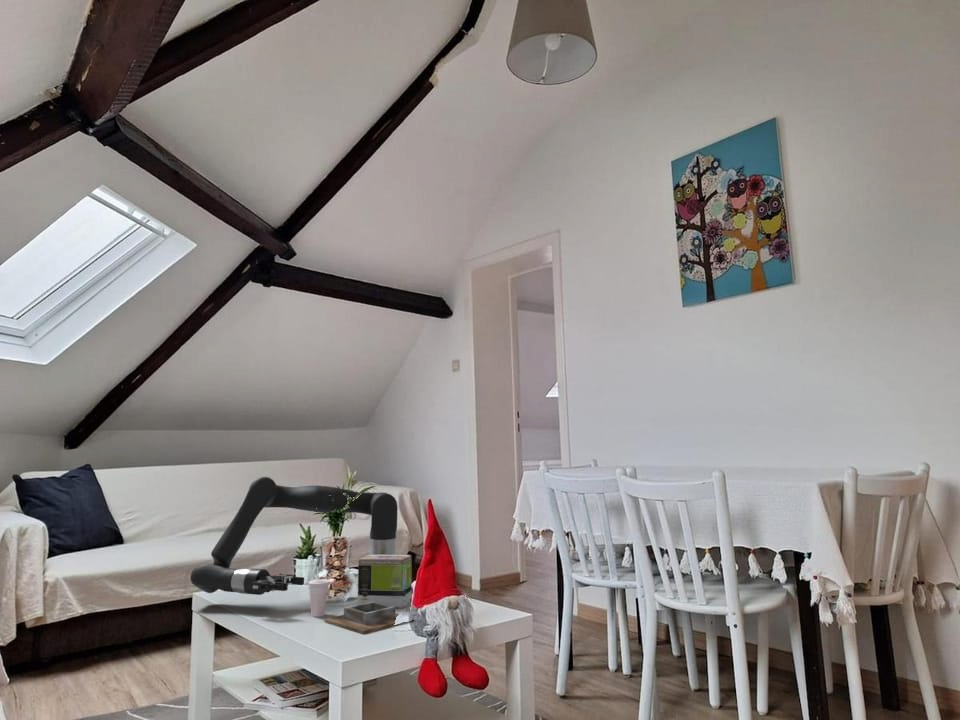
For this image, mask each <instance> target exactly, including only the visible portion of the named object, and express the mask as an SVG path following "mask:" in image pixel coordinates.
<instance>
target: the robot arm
mask: <svg viewBox="0 0 960 720" xmlns="http://www.w3.org/2000/svg"><path fill="white" fill-rule="evenodd" d="M359 492H360V491H353V490H350V489H347V488H346V489H345V488H341V489H340V487H335V486H327V485H306V486H305V485H304V486H303V485H302V486H297V487H296V486H295V487H294V486H284V485H278V484H276V482H275V480H274V479H272V478H271V477H269V476H260V477H258V478H256V479H254V480H253V481H252V482H251V483H250V485H249V488H248V491H247V493H246V496H245V498H244V499H243V502H242V504H241V505H240V508H239V509H238V510H237V513H236V514H235V516H234V517H233V519H232V521H231V522H230V523H229V525H228V526H227V527H226V530H225V531H224V532H223V533H222V534H221V536H220V538H219V540H218V541H217V542H216V544H215V546H214V547H213V549H212V551H211V552H210V554H211V557H212V559H213V564H210V563H203V564H200V565H198V566H196V567H194V568H193V570H192V571H191V574H190V581H191V584H192V585H193V586H194V587H196V588H198V589H200V590H201V591H203V592H205V593H207V594H213V593H215V592H217V591H219V590H220V591H222V592H226V593H227V592H228V593H237V594H238V593H239V594H243V595H254V596H255V595H256V596H257V595H258V596H261V595H263V594H265V593H270V592H276V591H277V592H286V591H288V588H289V586H290V585H291V586H293V585H295V586H303V585H305V578H304V577H302V576H301V577H300V576H297V574H295V573H294V574H293V573H292V574H290V573H287V574H286V573H279V574H270V572H269V571H268V569H266V568H250V567H249V568H247V567H244V568H236V567H234V568H230V567H231V564H232V561H233V559H234V558H235V556H236V555H237V553H238V551H239V550H240V549H241V546H242V545H243V543H244V542H245V540H246V538H247V536H248V534H249V532H250V530H251V527H252V525H253V524H254V522H255V520H256V519H257V518H258V516H259V514H260V513H261V512H262V510H264V508H284V509H285V508H286V509H288V508H289V509H295V510H300V511H305V512H306V511H308V512H312V513H313V512H314V513H323V514H328V513H327V512H331V511H333V510H334V509H336V510H340V509H343V507H345V505H346V504H347V498H346V496H344V495H343V493H346V494H348V495H349V497H351V498H353V497H355V496H356V495H357V494H358V493H359ZM361 493H362V494H361V495H360V494H359V495H360V496H359V497H358V498H357V499H355V500H354V501H351V503H350V504H348V505H349V507H350V509H349V508H348V509H347V511H346V513H345V514H348V513H358V514H363V515H368V516H371V526H370V531H369V555H397V553H396V552H397V551H396V550H397V548H396V546H397V544H396V543H397V530H398V501H397V500H396V497H394V496H393V495H392V494H390V493H388V492H361ZM329 495H332V496H329ZM332 498H333V500H334V501H332ZM316 508H317V509H316Z"/></svg>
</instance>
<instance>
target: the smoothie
mask: <svg viewBox="0 0 960 720" xmlns="http://www.w3.org/2000/svg"><path fill="white" fill-rule="evenodd" d="M319 569H320V568H319V565H317V566H316V572H315V573H316V574H315V575H316V577H315V579H311V580H309V581H308V582H307V587H308V590H309V591H308V592H309V593H308V594H309V603H310V612H311V613H310V615H311V616H310V617H312V616H313V617H312V618H320V617H323V616H325V613H326V606H327V605H326V603H327V600H328V599H327V598H328V593H329V585H330V584H331V583H330V582H331V581H330V580H329V579H325V578H321V579H320V578H319Z"/></svg>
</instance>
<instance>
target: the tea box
mask: <svg viewBox="0 0 960 720" xmlns="http://www.w3.org/2000/svg"><path fill="white" fill-rule="evenodd" d="M357 561H358V565H357V567H358V568H357V569H358V570H357V605H359V604H363V603H368V602H372V601H374V602H378V603H382V604H386V605H390V606H394V607H395V608H400V609H401V608H402V609H403V608H404V607H406V606H407V605H409V604H410V603H409V601H410V599H411V600H412V589H413V587H412V580H413V579H412V575H413V574H412V570H413V569H412V555H411V554H396V555H370V554H367V555H365V556H363V557H360V558H358V560H357Z"/></svg>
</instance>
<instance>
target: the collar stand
mask: <svg viewBox="0 0 960 720" xmlns="http://www.w3.org/2000/svg"><path fill="white" fill-rule="evenodd" d="M399 614H400V613H398V612H396V607H394V606H390V605H386V604H382V603H378V602H374V601H372V602H368V603H363V604H359V605H358V604H354V605H350V606H345V607H344V608H343V614H341V615H337V616H332V617H327V618H324V623H326V624H329V625H333V626H334V627H335V626H336V627H338V628H342V629H345V630H348V631H351V632H355V633H357V634H360V635H365V633H366V634H369V633H372V632H377V631H380V630H385V629H388V628H391V627H394V624H395V620H396V617H397V616H398V615H399Z"/></svg>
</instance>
